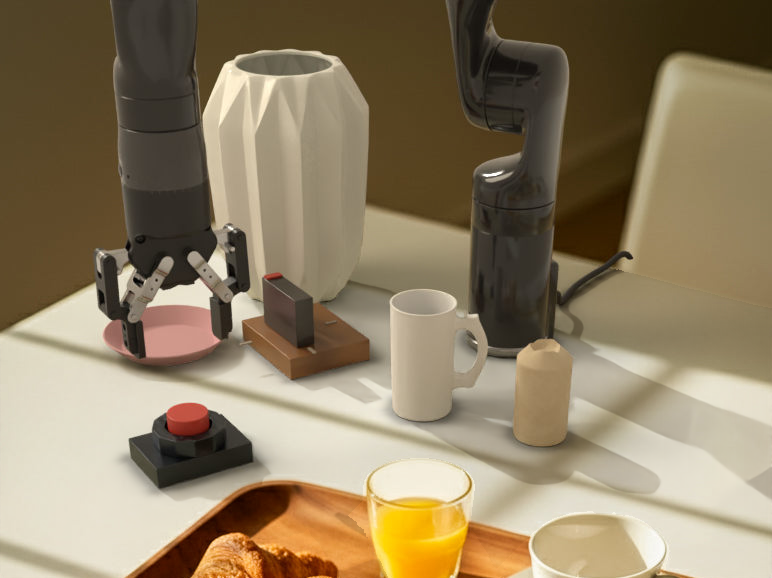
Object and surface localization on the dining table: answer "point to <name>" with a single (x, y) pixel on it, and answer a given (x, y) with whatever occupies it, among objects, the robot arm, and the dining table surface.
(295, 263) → the vase
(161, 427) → the button block
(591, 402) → the dining table surface
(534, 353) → the candle
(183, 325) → the plate
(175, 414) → the button
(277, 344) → the oak panel
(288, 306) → the bar knob
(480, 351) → the mug
